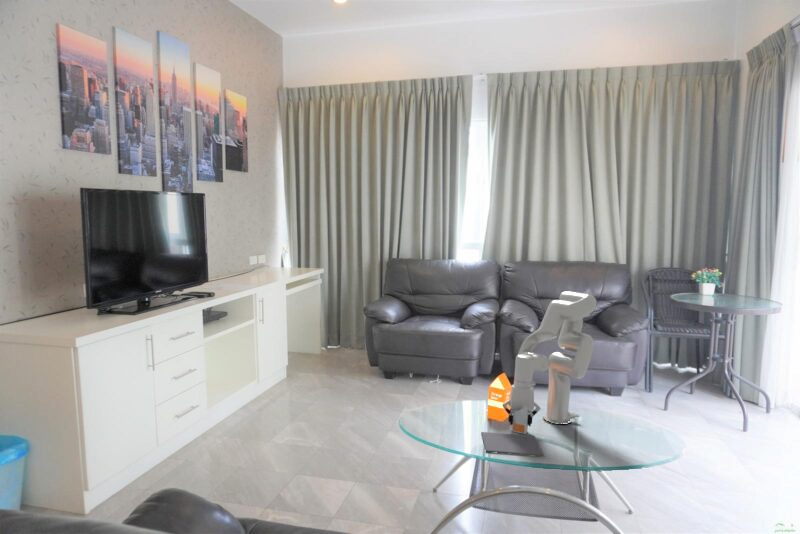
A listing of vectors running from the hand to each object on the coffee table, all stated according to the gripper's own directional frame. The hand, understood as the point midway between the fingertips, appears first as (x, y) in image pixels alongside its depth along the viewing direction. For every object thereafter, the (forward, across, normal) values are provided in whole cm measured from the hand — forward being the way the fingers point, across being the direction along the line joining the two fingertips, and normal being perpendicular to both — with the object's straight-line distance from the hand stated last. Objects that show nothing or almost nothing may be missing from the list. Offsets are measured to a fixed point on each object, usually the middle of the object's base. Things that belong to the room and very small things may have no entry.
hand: (520, 424), depth 215 cm
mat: (+3, +6, +15) cm, 16 cm away
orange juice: (+3, +7, -16) cm, 18 cm away
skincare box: (+3, 0, 0) cm, 3 cm away
